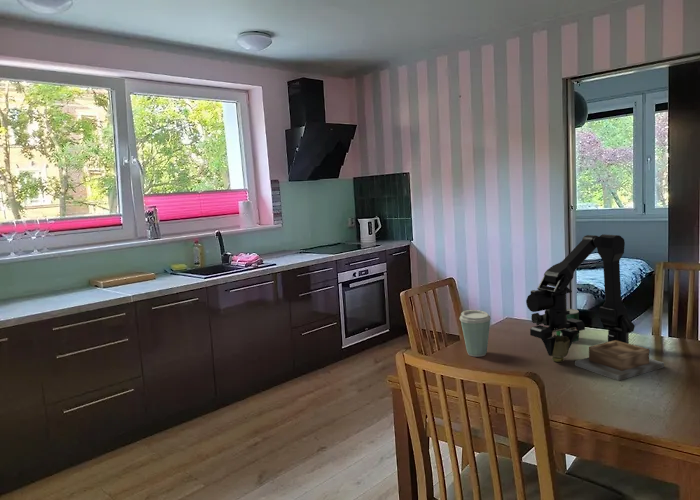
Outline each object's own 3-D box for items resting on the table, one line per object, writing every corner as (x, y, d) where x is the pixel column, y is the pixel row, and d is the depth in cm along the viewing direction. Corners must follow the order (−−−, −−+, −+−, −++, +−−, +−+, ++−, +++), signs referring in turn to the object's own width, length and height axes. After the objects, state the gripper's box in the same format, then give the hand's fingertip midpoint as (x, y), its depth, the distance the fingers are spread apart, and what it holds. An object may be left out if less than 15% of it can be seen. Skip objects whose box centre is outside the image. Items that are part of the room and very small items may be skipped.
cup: (572, 364, 172) (572, 340, 171) (548, 364, 173) (547, 340, 172) (567, 357, 179) (567, 334, 178) (544, 357, 180) (544, 334, 179)
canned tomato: (554, 337, 202) (553, 308, 201) (575, 336, 201) (575, 308, 200) (559, 343, 194) (558, 313, 193) (581, 342, 193) (581, 313, 192)
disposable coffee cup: (497, 352, 188) (496, 311, 187) (482, 361, 181) (480, 318, 179) (471, 347, 196) (469, 307, 194) (455, 355, 188) (453, 314, 186)
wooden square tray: (618, 353, 179) (618, 336, 178) (663, 367, 165) (664, 348, 164) (574, 365, 171) (574, 347, 170) (618, 380, 156) (618, 360, 156)
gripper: (559, 299, 185) (560, 342, 187) (517, 307, 177) (518, 352, 179) (585, 304, 175) (586, 350, 177) (542, 313, 167) (543, 361, 169)
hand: (558, 353), depth 176 cm, fingers closed on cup, 6 cm apart
